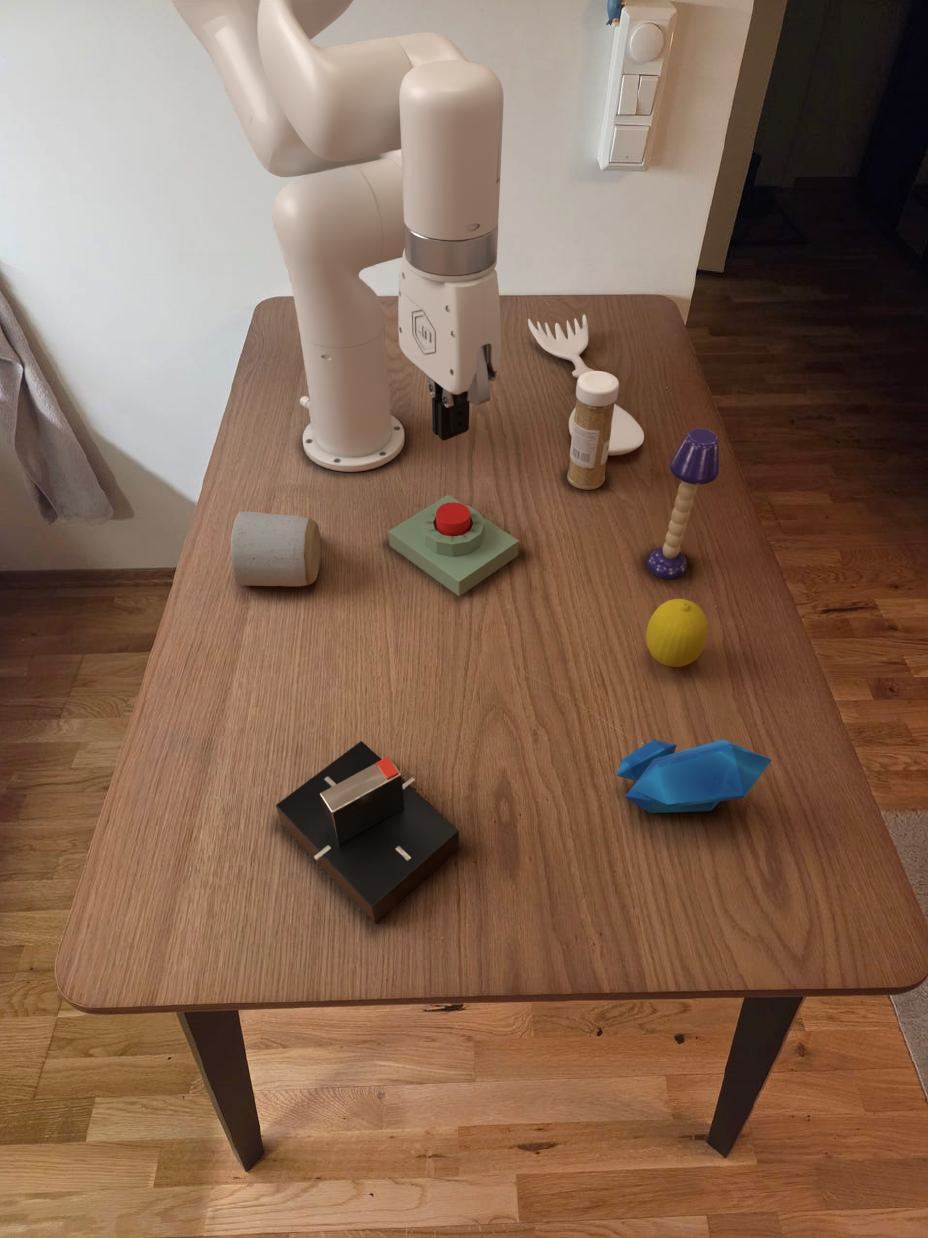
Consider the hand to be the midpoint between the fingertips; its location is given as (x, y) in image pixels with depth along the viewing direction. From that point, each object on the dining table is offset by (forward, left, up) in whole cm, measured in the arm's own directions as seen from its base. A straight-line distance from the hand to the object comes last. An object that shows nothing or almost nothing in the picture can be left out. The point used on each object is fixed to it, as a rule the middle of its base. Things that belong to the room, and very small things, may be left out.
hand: (450, 431), depth 83 cm
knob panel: (+20, -29, -15) cm, 39 cm away
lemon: (+26, +4, -16) cm, 31 cm away
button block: (0, 0, -15) cm, 15 cm away
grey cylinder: (-11, -15, -16) cm, 24 cm away
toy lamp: (+18, +15, -16) cm, 28 cm away
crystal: (+36, -8, -16) cm, 40 cm away
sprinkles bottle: (+2, +20, -16) cm, 25 cm away
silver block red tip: (+20, -29, -12) cm, 38 cm away
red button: (0, 0, -12) cm, 12 cm away
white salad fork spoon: (-10, +34, -16) cm, 38 cm away
